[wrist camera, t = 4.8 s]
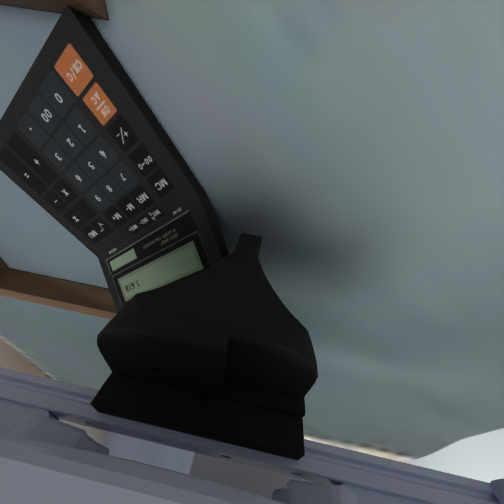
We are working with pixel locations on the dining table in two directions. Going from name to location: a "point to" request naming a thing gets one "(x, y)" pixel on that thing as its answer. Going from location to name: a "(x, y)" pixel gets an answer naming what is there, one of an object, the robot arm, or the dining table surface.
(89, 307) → the brown angled flat piece
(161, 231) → the calculator
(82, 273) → the dining table surface
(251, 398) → the robot arm
